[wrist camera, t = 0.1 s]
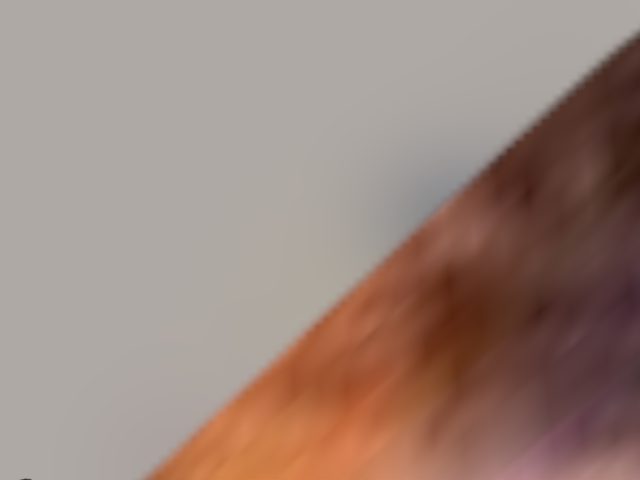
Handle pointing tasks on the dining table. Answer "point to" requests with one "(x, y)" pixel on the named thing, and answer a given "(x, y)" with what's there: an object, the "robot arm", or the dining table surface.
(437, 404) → the dining table surface
